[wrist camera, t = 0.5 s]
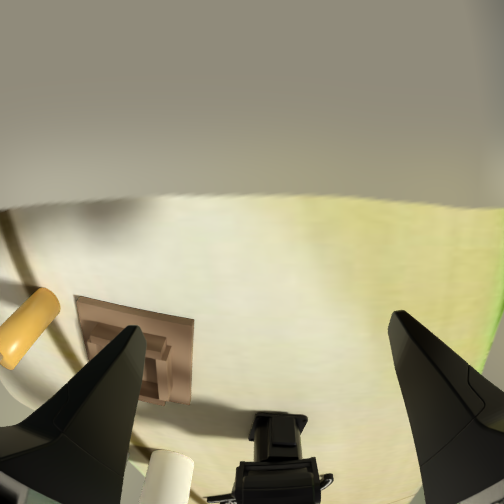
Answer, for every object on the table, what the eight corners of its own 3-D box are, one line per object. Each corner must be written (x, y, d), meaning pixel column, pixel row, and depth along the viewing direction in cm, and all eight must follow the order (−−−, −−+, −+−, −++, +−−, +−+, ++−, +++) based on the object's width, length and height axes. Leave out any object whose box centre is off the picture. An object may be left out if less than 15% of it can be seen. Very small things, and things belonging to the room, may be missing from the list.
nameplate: (322, 472, 38) (344, 485, 41) (321, 465, 40) (343, 479, 43) (198, 498, 45) (228, 510, 48) (199, 492, 46) (229, 505, 49)
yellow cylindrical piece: (63, 318, 28) (4, 396, 16) (39, 311, 28) (-20, 381, 16) (57, 291, 27) (-12, 367, 15) (33, 284, 26) (-35, 352, 15)
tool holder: (191, 398, 32) (186, 419, 29) (97, 376, 31) (88, 394, 28) (194, 319, 27) (187, 341, 24) (80, 296, 27) (65, 313, 24)
